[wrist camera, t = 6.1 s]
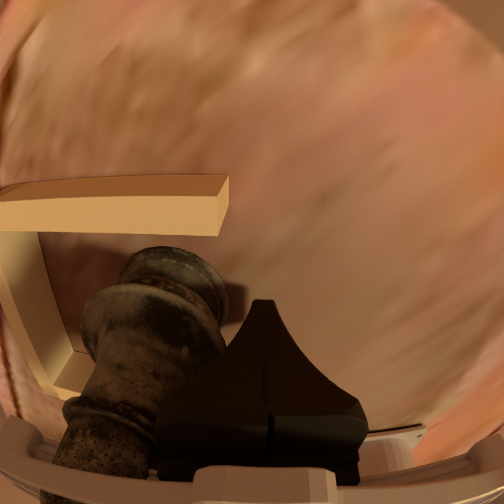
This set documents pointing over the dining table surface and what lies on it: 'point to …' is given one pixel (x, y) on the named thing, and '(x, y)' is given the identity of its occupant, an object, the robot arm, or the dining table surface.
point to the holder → (86, 220)
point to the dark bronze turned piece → (140, 360)
